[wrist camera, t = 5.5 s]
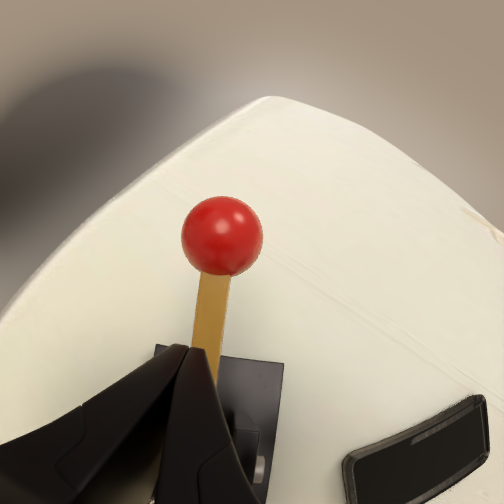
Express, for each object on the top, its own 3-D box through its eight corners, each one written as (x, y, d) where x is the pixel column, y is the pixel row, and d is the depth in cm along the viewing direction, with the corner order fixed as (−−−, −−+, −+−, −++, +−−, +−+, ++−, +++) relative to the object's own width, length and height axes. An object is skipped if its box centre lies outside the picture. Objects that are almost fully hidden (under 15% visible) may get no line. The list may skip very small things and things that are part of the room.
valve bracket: (159, 345, 20) (109, 311, 11) (281, 364, 20) (319, 343, 11) (140, 490, 15) (85, 541, 6) (261, 511, 15) (282, 579, 6)
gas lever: (195, 204, 13) (181, 180, 10) (265, 213, 13) (270, 191, 10) (167, 459, 12) (151, 493, 9) (229, 470, 12) (225, 507, 9)
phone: (490, 458, 15) (355, 535, 13) (482, 458, 16) (350, 530, 14) (484, 389, 18) (345, 457, 16) (476, 390, 19) (340, 454, 17)
